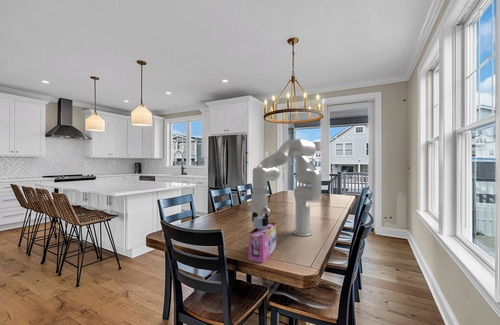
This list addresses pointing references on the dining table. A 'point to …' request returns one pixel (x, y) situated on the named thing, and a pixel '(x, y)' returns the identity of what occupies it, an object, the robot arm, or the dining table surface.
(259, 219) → the slate cube
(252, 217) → the robot arm
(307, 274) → the dining table surface
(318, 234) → the dining table surface
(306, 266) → the dining table surface
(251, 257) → the gum box
